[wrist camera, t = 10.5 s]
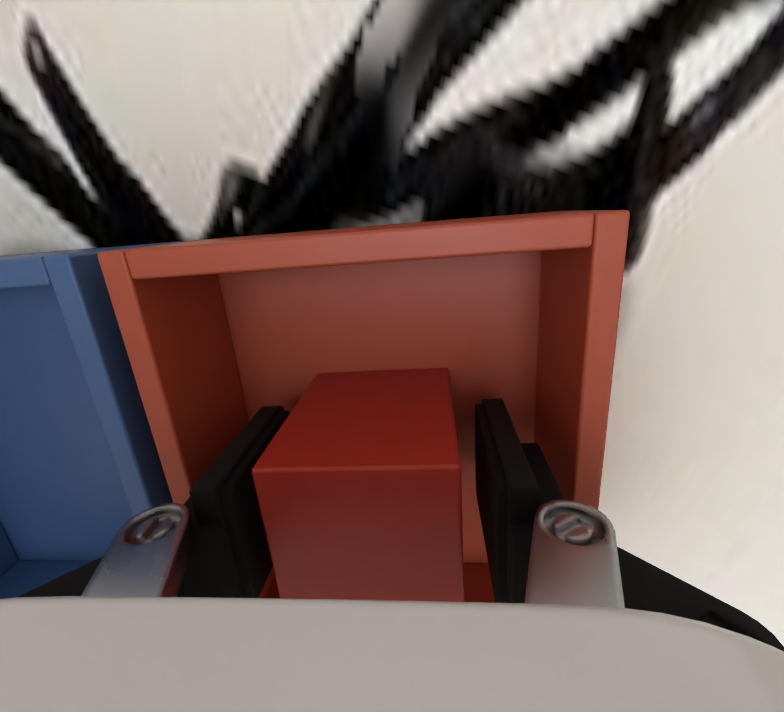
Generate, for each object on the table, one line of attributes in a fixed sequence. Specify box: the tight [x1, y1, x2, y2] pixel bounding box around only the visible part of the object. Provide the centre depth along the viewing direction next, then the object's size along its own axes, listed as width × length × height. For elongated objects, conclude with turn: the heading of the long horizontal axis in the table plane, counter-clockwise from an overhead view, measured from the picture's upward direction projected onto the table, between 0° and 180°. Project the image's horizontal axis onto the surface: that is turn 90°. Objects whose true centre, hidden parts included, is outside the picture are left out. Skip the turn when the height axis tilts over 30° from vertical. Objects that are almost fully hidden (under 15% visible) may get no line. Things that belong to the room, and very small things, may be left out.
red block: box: [252, 368, 464, 602], centre depth 11 cm, size 4×4×5 cm
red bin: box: [97, 210, 630, 603], centre depth 12 cm, size 10×12×4 cm
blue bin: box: [0, 241, 179, 599], centre depth 13 cm, size 10×12×4 cm
